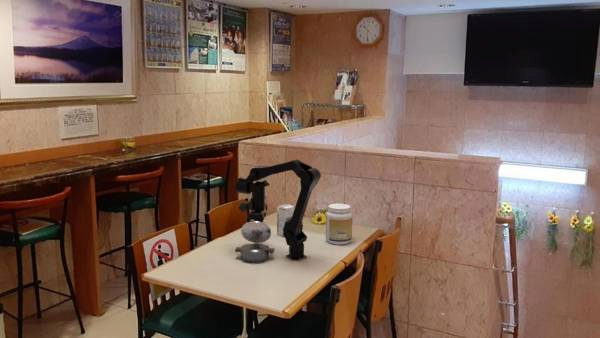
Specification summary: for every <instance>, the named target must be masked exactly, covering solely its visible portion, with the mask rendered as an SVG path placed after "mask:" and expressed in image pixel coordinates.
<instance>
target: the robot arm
mask: <svg viewBox="0 0 600 338" xmlns="http://www.w3.org/2000/svg"><path fill="white" fill-rule="evenodd" d="M289 171H293V173H294V174H295V176H297V177H298V178H299V179H300V181H299V182H300V191H299V194H298V197H297V199H296V203H295V206H294V212H293V215H292V218H291V219H290V220H288V221H286V222H285V224H284V228H283V230H284V231H283V235H284V237H283V238H284V239H285V242H286V245H287V246H288V254H286V255H285V256H286V257H287V258H289V259H291V260H293V261H298V260H301V259H306V258H308V256H307V255H305V242H307V240H308V236H307V235H306V233H305V232H304V231H303V229H304V225H303V220H304V217H305V214H306V210H307V207H308V205H309V201H310V198H311V195H312V192H313V190H314V189H315V187H316V186H317V185H318V183H319V181H320V180H321V177H322V175H321V174H322V173H321V172H320V170H319V169H318V168H315V167H312V166H311V165H309V164H306V163H305V162H302V161H301V160H299V159H296V158H295V159H293V160H290V161H286V162H282V163H278V164H274V165H259V166H256V167H252V168H251V169H250V170H249V174H248V175H247V176H246V178H244V177H238V178H237V181H236V182H235V186H234V190H235V192H236V193H238V194H244V195H250V194H251V198H250V200H247V201H244V202H243V201H242V202H241V203H239V204H238V211H240V213H244V212H246V211H250V212H249V213H248V216H247V219H248V220H249V221H260V222H263V223H264V221H265V218H266V215H267V212H265V211H268V210H269V205H268V203H267V202H266V199H267V198H266V187H269V186H270V183H269V182H268V181H267V180H266V179H267V178H268V177H271V176H273V175H277V174H280V173H284V172H289ZM263 179H264V180H263ZM261 180H262V181H261Z"/></svg>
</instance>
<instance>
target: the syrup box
mask: <svg viewBox="0 0 600 338" xmlns="http://www.w3.org/2000/svg"><path fill="white" fill-rule="evenodd" d="M294 209H295V206H294V205H292V204H285V203H284V204H282V205H279V206H277V210H276V211H277V212H276V213H277V215H276V217H277V219H276V222H277V223H276V236H279V237H280V236H281V237H283V238H285V237H284V235H283V231H284V230H283V228H284V224H285V222H286V221H288V220H290V219H291V218H292V215H293V212H294Z"/></svg>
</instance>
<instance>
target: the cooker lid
mask: <svg viewBox="0 0 600 338" xmlns="http://www.w3.org/2000/svg"><path fill="white" fill-rule="evenodd" d="M240 231H241V235H242V237H243V239H245V240H246V241H248V242H250V243H260V244H263V243H265V242H267V241H268V240H269V239H271V236H272V229H271V228H270V226H269V225H268V224H266V223H265V222H264V221H263V222H260V221H255V220H249V221H248V222H245V223H244V224H243V225H242V227H241V230H240Z"/></svg>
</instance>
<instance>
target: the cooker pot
mask: <svg viewBox="0 0 600 338" xmlns="http://www.w3.org/2000/svg"><path fill="white" fill-rule="evenodd" d="M235 253H240V260H241V261H242V262H243V263H247V264H261V263H262V264H263V263H265V262H268V261H269V260H270V254H274V253H275V247H273V248H272V247H270V246H269V245H267V244H265V243H254V242H251V243H248V244H247V243H246V244H244V245H242V246H241V247H240V246H239V247H238V246H236V248H235Z"/></svg>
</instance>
